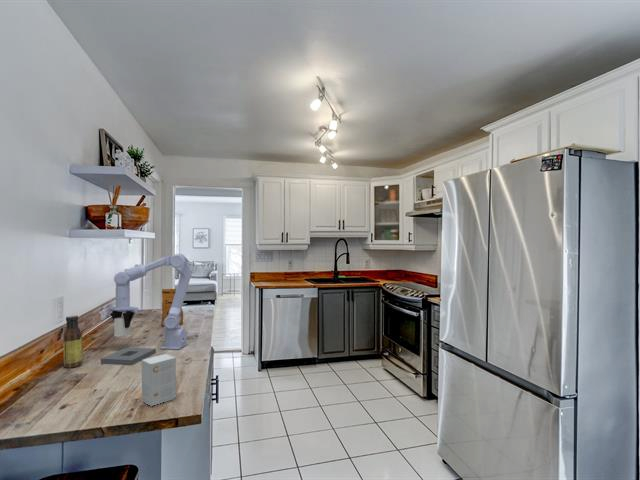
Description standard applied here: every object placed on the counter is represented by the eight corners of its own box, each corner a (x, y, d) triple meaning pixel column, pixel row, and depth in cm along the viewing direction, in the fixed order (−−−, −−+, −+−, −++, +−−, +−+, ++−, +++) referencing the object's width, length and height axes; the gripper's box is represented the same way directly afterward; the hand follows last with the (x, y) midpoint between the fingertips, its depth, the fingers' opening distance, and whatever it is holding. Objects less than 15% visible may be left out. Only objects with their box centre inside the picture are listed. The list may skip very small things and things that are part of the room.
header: (155, 353, 159) (155, 348, 159) (131, 365, 143) (131, 360, 143) (127, 351, 161) (127, 347, 161) (100, 363, 146) (100, 358, 146)
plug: (130, 333, 166) (130, 316, 166) (122, 336, 161) (122, 318, 161) (122, 333, 167) (122, 316, 167) (114, 336, 161) (114, 318, 162)
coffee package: (182, 326, 212) (182, 289, 212) (159, 327, 209) (159, 289, 209) (184, 322, 222) (184, 287, 222) (162, 323, 218) (162, 287, 219)
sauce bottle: (86, 364, 145) (86, 315, 145) (71, 369, 139) (71, 318, 139) (74, 362, 147) (74, 314, 147) (59, 367, 141) (59, 317, 141)
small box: (166, 393, 116) (166, 353, 117) (176, 398, 112) (176, 357, 112) (141, 401, 110) (141, 359, 110) (150, 407, 106) (150, 363, 106)
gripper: (102, 298, 161) (101, 329, 161) (131, 299, 159) (131, 330, 159) (113, 296, 168) (113, 325, 168) (141, 297, 166) (141, 326, 166)
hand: (122, 327), depth 164 cm, fingers closed on plug, 4 cm apart
